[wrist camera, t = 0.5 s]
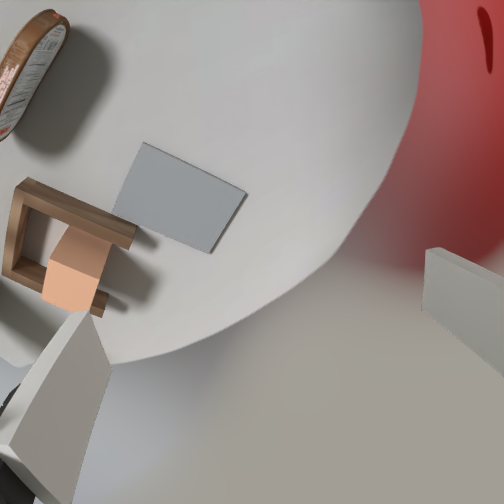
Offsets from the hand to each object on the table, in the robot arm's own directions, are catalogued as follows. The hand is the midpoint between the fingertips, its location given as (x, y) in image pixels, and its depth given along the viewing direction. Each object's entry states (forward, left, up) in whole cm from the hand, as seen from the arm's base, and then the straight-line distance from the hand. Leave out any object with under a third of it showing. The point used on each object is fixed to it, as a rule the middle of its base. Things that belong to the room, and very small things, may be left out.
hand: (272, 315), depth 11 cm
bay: (+19, -12, -27) cm, 35 cm away
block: (+19, -9, -27) cm, 34 cm away
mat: (+7, -1, -27) cm, 28 cm away
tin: (+1, -23, -27) cm, 35 cm away
